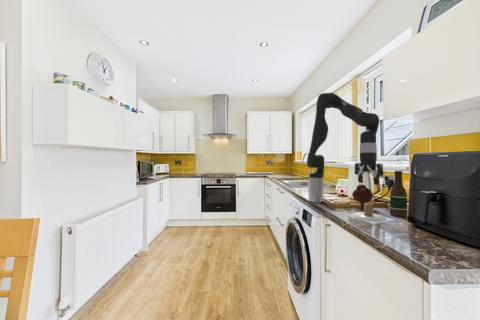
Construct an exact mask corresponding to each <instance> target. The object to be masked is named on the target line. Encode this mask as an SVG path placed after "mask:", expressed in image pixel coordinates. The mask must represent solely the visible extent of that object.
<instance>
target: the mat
mask: <svg viewBox="0 0 480 320" xmlns="http://www.w3.org/2000/svg"><path fill="white" fill-rule="evenodd" d="M353 213H354V212H352V213H345V214H344V213H343V214H342V215H343V216H346V217H348V218H352V219H356V220H360V221H362V222H366V223H370V224H373V225H374V224H382V223H389V222H394V221H396V218H395V219H394V218H391V217H387V216H384V217H385V220H383V221H368V220H362V219H358V218H355V217H354V216H353Z"/></svg>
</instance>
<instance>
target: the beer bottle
mask: <svg viewBox="0 0 480 320" xmlns="http://www.w3.org/2000/svg"><path fill="white" fill-rule="evenodd" d="M393 173H394V181H393V186H392V188H391V189H390V192H389V215H390V216H391V217H395V218H401V219H403V218H407V217H408V193H407V190H406V188H405V187H404V184H403V171H402V170H395V171H394V172H393Z"/></svg>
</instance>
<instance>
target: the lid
mask: <svg viewBox="0 0 480 320" xmlns="http://www.w3.org/2000/svg"><path fill="white" fill-rule="evenodd" d="M352 213H353V216H354V217H355V218H358V219H357V220H359V219H362V220H368V221H383V220H385V217H386V216H384V215H383V214H382V215H381V214H379V213H375V212H374V203H371V202H370V203H369V202H367V203H364V210H363V211H359V212H352ZM355 218H354V219H355ZM362 220H361V221H362Z"/></svg>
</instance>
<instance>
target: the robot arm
mask: <svg viewBox="0 0 480 320" xmlns="http://www.w3.org/2000/svg"><path fill="white" fill-rule="evenodd" d="M327 109H336V110H339V111H340V113H341V115H343V116H344V117H345V118H348V119H349V120H352V121H353V122H354V123H355V124H356V125H358V126H359V127H362V128H364V127H365V130H364V131H362V132H361V133H360V135H359V162H357V163H354V175H357V181H358V183H359V184H363V183H364V176H363V175H364V174H365V173H366V172H367V173H370V174H371V175H373V185H375V186H378V185H379V183H380V177H383V176H384V164H383V163H377V160H378V158H377V157H378V156H377V155H378V154H377V153H378V151H377V150H378V147H377V132H378V131H379V130H378V128H379V125H380V118H379V115H378V114H376V113H374V112H373V113H372V112H365V111H363V109H362V108H360V107H358V106H356V105H353V104H351V103H349V102H347V101H346V100H344V99H343V98H341V97H340V96H339V95H337V93H336V94H335V92H322V93H320V94H319V95H318V96H317V100H316V109H315V119H314V124H313V128H312V129H313V130H312V137H311V143H310V146H309V147H310V148H309V152H308V154H307V158H306V159H307V160H306V165H307V167H308V168H310V169H315V168H316V170H314V171H313V172H310V173H309V187H308V201H309V200H310V201H312V202H311V203H313V202H316V203H315V204H320V203H321V202H322V201H323V202H324V175H325V174H324V173H325V157H324V155H322V154H317V151H318V150H319V148H320V147H321V146H322V145H323V144H324V143H325V142H326V140H327V138H328V134H329V133H328V132H329V126H328V123H327V120H326V110H327ZM310 201H309V202H310ZM321 204H322V203H321Z"/></svg>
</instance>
